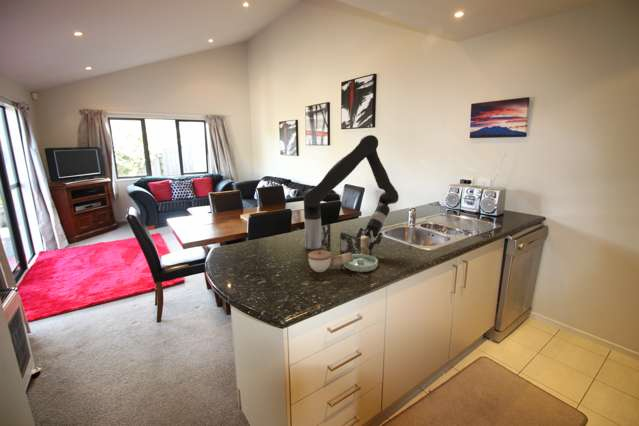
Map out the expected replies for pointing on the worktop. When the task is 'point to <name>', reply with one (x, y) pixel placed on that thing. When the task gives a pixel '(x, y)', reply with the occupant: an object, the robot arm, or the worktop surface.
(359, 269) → the ring dish
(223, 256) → the worktop surface
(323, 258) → the lidded jar
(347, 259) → the beige banded cylinder
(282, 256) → the worktop surface
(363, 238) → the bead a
